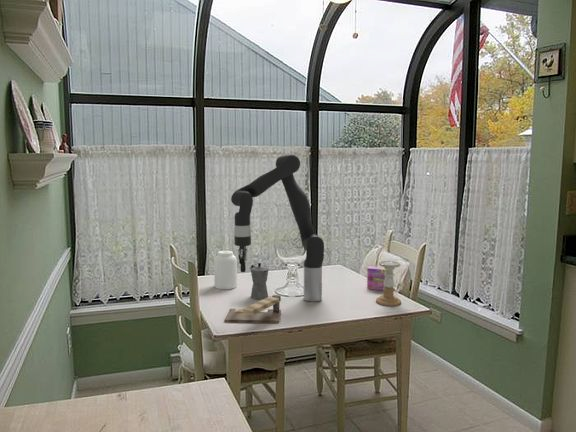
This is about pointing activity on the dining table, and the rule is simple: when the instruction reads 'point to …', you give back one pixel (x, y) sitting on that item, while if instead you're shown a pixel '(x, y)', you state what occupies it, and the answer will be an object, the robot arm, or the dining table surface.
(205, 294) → the dining table surface
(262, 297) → the coffeepot
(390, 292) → the candle holder
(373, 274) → the box
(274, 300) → the swing arm
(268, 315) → the label board
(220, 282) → the white jar
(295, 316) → the dining table surface
